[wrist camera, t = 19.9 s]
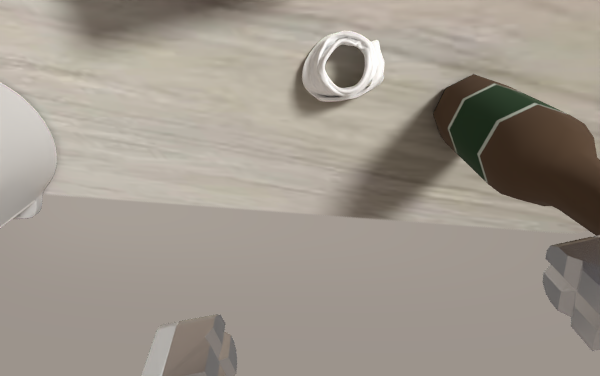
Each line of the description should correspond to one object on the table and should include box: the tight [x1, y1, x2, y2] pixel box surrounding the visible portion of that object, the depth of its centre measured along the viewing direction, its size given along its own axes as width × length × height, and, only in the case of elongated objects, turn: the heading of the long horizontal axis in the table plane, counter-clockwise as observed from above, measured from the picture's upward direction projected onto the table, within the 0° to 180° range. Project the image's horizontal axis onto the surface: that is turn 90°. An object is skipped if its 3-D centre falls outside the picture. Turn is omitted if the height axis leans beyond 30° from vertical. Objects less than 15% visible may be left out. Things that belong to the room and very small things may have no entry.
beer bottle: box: [433, 74, 600, 236], centre depth 29 cm, size 8×8×24 cm
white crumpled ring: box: [302, 31, 384, 102], centre depth 35 cm, size 8×7×5 cm
